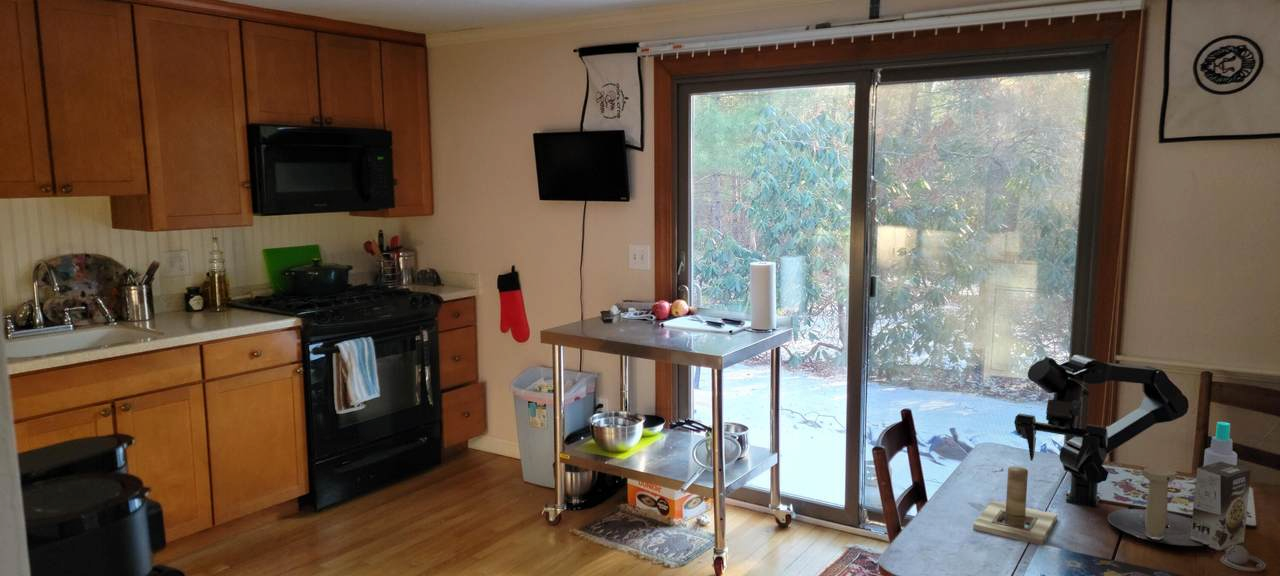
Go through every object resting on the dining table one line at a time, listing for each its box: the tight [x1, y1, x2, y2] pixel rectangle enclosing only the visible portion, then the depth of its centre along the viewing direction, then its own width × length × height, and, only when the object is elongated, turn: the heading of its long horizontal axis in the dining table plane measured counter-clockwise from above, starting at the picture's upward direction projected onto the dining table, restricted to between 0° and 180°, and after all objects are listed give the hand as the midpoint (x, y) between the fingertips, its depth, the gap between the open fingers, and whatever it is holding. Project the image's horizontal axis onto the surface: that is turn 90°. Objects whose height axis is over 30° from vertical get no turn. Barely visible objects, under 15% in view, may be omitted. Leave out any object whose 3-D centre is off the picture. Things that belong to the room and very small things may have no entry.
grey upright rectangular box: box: [1190, 462, 1252, 551], centre depth 183 cm, size 9×6×16 cm
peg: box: [1004, 465, 1029, 528], centre depth 192 cm, size 4×4×13 cm
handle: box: [1142, 466, 1178, 537], centre depth 185 cm, size 5×6×15 cm
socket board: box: [972, 500, 1058, 546], centre depth 194 cm, size 16×14×1 cm
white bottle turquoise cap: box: [1203, 421, 1238, 466], centre depth 195 cm, size 6×6×22 cm
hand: (1053, 463), depth 193 cm, fingers open, 9 cm apart
